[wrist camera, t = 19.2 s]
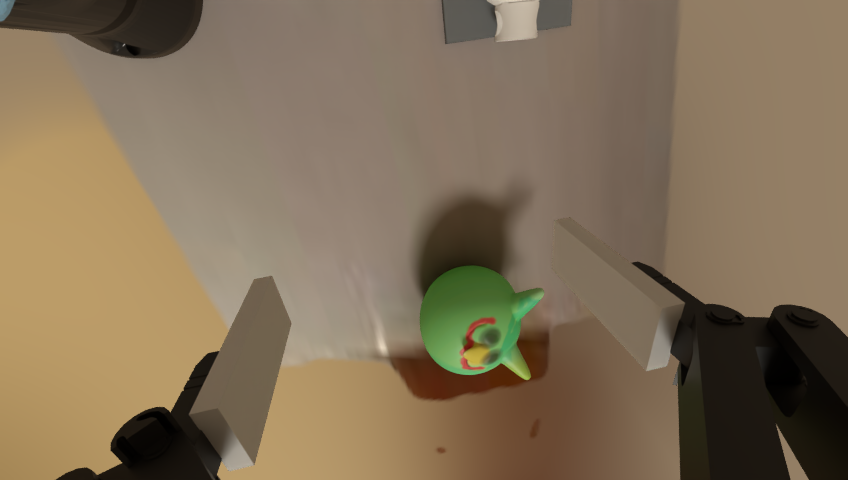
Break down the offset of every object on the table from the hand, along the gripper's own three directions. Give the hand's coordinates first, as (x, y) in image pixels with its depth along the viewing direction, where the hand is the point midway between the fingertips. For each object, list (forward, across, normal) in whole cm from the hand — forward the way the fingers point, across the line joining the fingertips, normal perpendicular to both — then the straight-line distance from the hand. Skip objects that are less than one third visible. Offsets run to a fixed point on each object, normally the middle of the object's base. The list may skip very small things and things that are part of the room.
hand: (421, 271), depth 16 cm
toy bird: (+35, +9, -29) cm, 46 cm away
